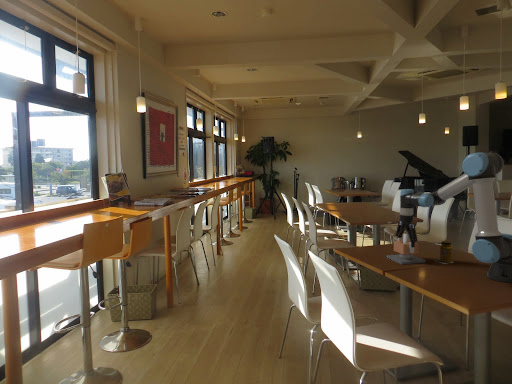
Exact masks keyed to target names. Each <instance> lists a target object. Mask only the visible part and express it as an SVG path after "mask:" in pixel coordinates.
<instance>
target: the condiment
mask: <svg viewBox="0 0 512 384" xmlns="http://www.w3.org/2000/svg"><path fill="white" fill-rule="evenodd" d="M439 249H440V250H439V251H440V252H439V259H438V260H435V262H437V263H440V264H443V265H447V264H453V263H455V262H454V261H452V249H453V248H452V242H451V241H447V240H445V241H441V244H440V248H439Z"/></svg>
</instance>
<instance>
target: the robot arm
mask: <svg viewBox="0 0 512 384" xmlns="http://www.w3.org/2000/svg"><path fill="white" fill-rule="evenodd" d="M461 164H462V166H461V167H462V172H463V174H462V175H460V176H458V177H457V178H455V179H453V180H451V182H449V183H447V184H445V185H443V186H442V187H440V188H438V189H437V190H435V191H434V192H429V193H428V192H427V193H425V192H424V193H417V192H416V193H415V190H414V189H412V188H407V189H406V188H403V189H401V190H400V196H399V197H400V198H399V200H400V201H399V204H400V207H399V221H398V222H397V227H396V232H395V237H397V241H403V234H405V231H406V232H407V234H408V235H409V241H410V249H409V253H414V247H415V243H417V242H418V236H417V231H416V224H412V222H414V208H415V207H421V208H430V207H433V206H441V205H444V204H445V203H446V202H447V200H449V199H452V198H453V197H454V196H456V195H458V194H460V193H462V192H464V191H465V190H467V189H469V188H471V187H472V190H473V192H472V193H473V200H474V207H475V209H474V210H475V217H476V225H477V232H476V233H475V235H474V238H475V241H474V242H473V244H471V251H472V254H473V256H474V257H475V258H476V259H477V261H479V262H482V263H485V264H489V263H490V266H488V267H489V268H488V270H487V272H486V277H487V278H489V279H491V280H492V281H493V280H494V281H497V282H502V283H511V284H512V234H510V233H502V232H501V231H499V223H498V216H497V208H496V207H497V206H496V202H495V201H496V198H495V191H494V184H493V183H494V181H495V180H496V178H497V177H496V175H498V174H499V173H501V172H502V170H503V169H504V166H505V163H504V159H503V158H502V156H501V155H500V154H498V153H496V152H483V151H482V152H481V151H480V152H478V151H477V152H472V153H470V154H468V155H467V156H466V157H465V158H464V160H463V162H462V163H461Z"/></svg>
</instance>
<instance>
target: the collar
mask: <svg viewBox="0 0 512 384" xmlns="http://www.w3.org/2000/svg"><path fill="white" fill-rule="evenodd" d="M409 249H410V240H409V243H407V244H404V243H403V240H402V241H398V240H394V241H393V252H396V253H399V254H400V253H401V254H403V255H404V254H412V255H417V254H419V243H418V242H415V247H414V253H409Z"/></svg>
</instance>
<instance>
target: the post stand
mask: <svg viewBox="0 0 512 384" xmlns="http://www.w3.org/2000/svg"><path fill="white" fill-rule="evenodd" d="M402 241H403V243H404V244H407V243H409V241H410V238H409V235H408V233H403V235H402ZM385 256H386V257H387V258H386V257H385V258H386V259H388V258H389V259H388V260H390V259H391V261H393V262H395V263H397V264H400V265H411V264H415V265H416V264H426V262H427V261H426V259H424V258H422V257H418V256H415V255H414V254H404V255H403V254H401V253H399V254H389V255H385Z"/></svg>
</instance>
